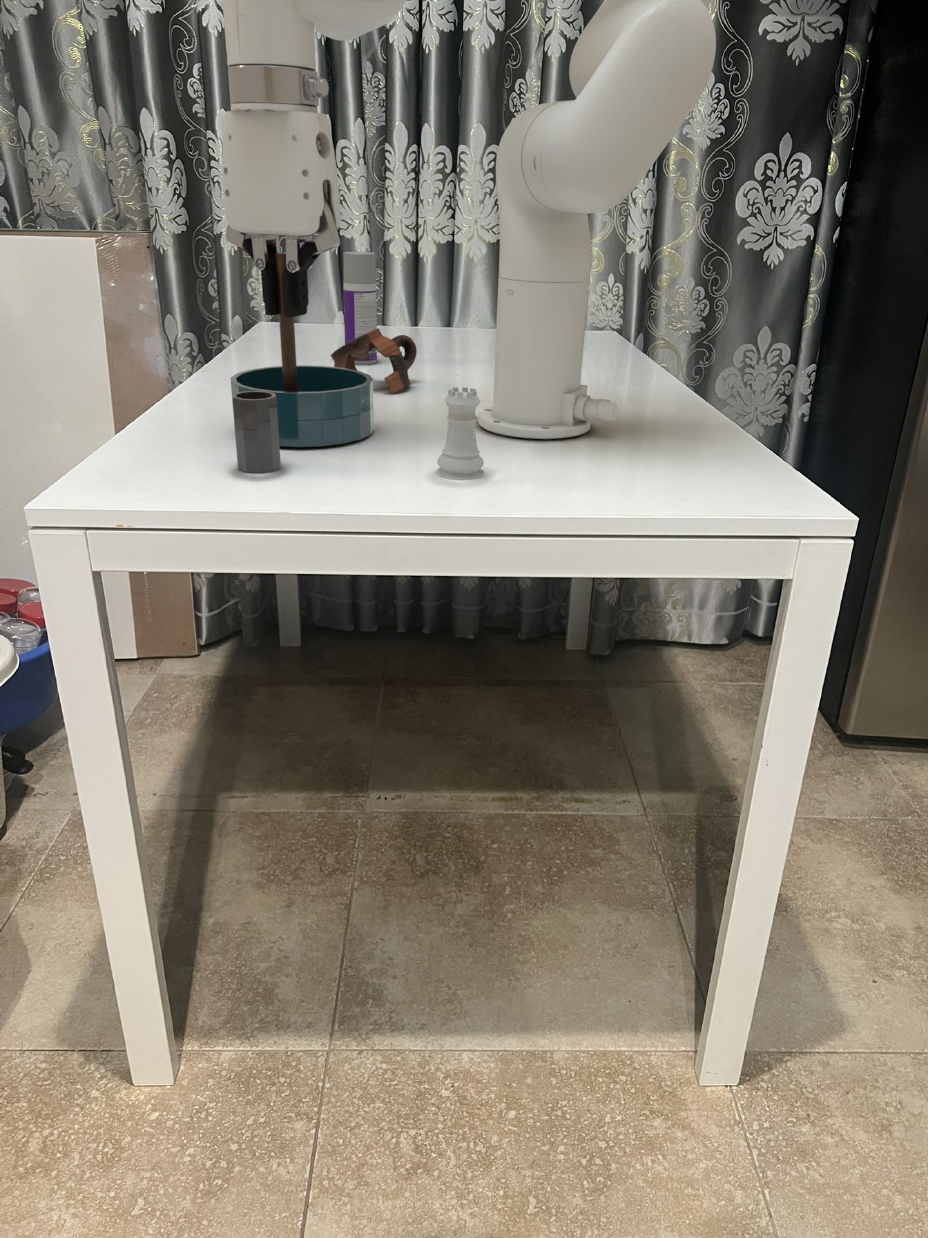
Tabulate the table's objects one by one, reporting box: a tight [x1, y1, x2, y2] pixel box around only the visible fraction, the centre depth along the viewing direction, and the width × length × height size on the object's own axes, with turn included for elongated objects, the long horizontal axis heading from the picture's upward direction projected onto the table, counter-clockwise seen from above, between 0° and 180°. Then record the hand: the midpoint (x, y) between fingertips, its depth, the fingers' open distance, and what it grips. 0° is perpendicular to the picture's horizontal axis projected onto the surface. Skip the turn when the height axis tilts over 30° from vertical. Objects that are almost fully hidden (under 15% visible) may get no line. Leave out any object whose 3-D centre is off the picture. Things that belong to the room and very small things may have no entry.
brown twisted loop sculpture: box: [330, 327, 418, 395], centre depth 118 cm, size 12×10×8 cm
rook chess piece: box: [435, 386, 485, 481], centre depth 82 cm, size 4×4×8 cm
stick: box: [275, 252, 298, 392], centre depth 88 cm, size 1×1×16 cm
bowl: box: [230, 364, 375, 448], centre depth 93 cm, size 14×14×6 cm
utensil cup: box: [231, 391, 282, 475], centre depth 81 cm, size 4×4×7 cm
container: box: [343, 251, 378, 366], centre depth 131 cm, size 5×5×15 cm
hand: (286, 313), depth 87 cm, fingers closed on stick, 1 cm apart
